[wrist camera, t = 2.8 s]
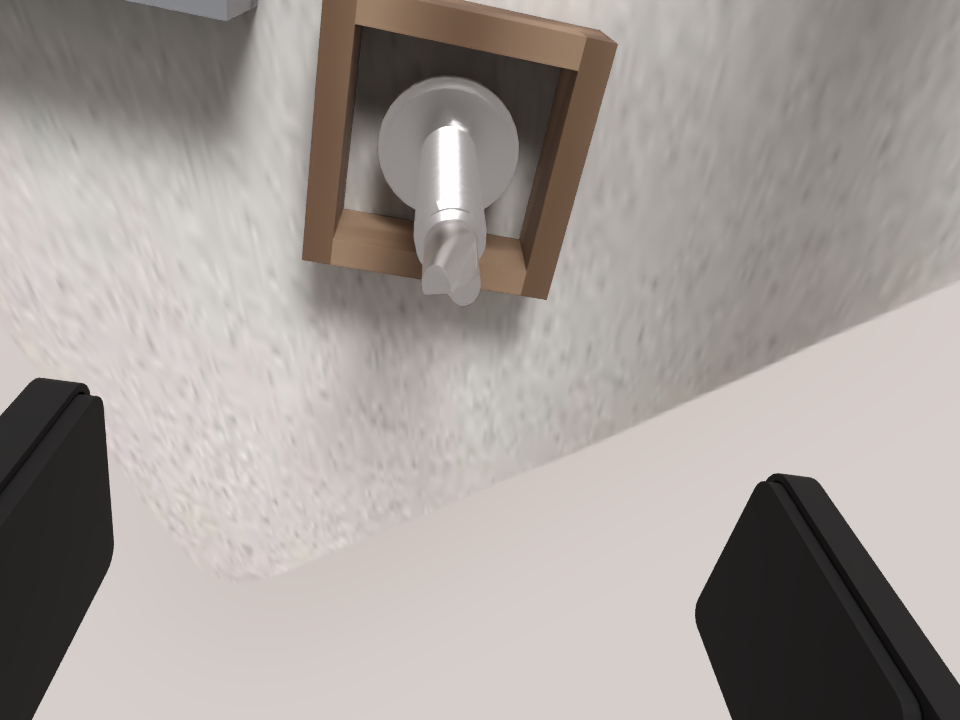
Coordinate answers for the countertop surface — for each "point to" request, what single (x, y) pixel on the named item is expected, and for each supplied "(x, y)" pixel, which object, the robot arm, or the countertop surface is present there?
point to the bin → (204, 7)
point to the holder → (583, 78)
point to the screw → (449, 174)
